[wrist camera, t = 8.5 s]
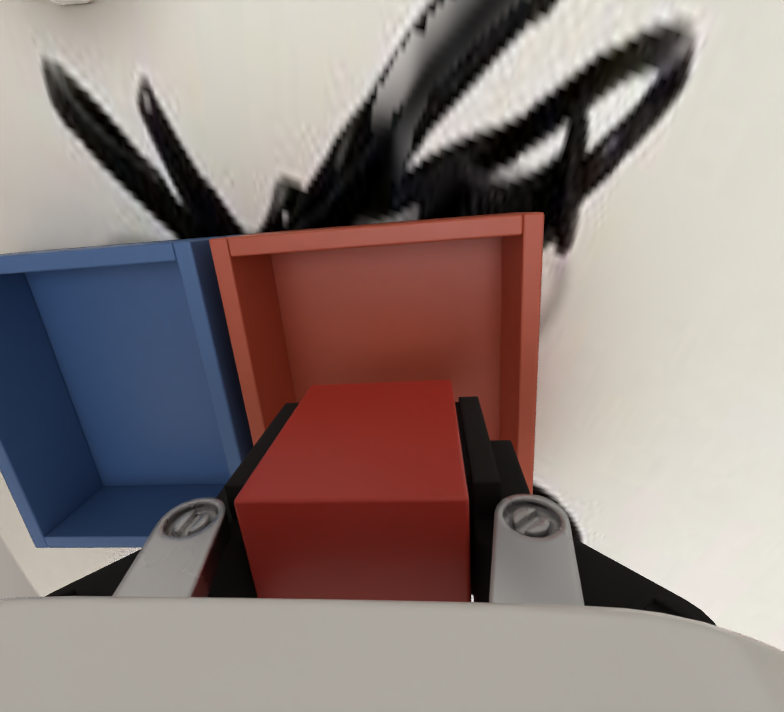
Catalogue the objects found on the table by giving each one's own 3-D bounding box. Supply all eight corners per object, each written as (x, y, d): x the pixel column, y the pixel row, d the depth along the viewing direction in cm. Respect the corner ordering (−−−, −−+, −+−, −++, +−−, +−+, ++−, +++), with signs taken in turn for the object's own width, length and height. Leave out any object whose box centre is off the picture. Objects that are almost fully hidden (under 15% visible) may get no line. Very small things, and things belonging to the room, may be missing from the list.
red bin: (303, 484, 20) (275, 547, 17) (258, 233, 16) (207, 239, 13) (509, 480, 19) (530, 546, 16) (514, 212, 16) (545, 211, 12)
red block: (328, 499, 13) (271, 664, 8) (310, 384, 12) (230, 500, 7) (455, 498, 12) (472, 671, 8) (451, 378, 11) (469, 498, 6)
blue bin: (105, 488, 22) (35, 548, 18) (18, 252, 18) (-97, 263, 14) (291, 484, 21) (260, 547, 17) (244, 234, 17) (189, 240, 13)
